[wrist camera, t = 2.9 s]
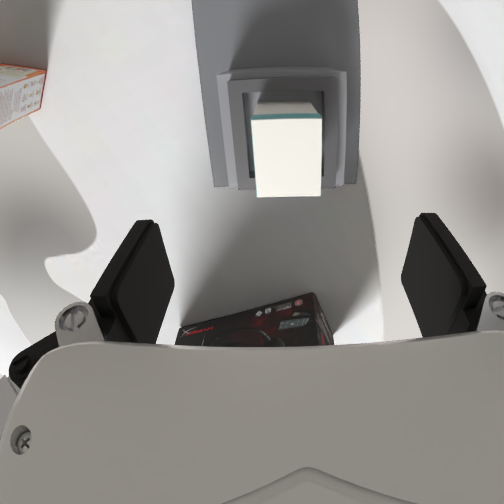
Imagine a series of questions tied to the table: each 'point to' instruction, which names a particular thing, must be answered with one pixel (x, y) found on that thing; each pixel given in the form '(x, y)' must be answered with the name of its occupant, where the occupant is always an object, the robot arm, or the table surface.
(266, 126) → the white teal-banded block
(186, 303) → the table surface
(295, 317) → the headset box
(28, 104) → the cracker box
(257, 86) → the grey docking base
